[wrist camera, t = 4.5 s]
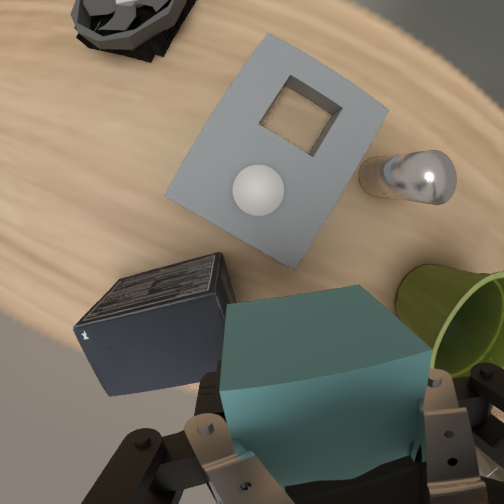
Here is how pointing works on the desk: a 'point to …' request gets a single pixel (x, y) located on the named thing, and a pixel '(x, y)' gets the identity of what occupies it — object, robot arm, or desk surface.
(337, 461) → the teal cube
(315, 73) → the peg board
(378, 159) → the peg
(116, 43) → the cpu cooler
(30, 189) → the desk surface
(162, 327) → the small box
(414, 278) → the plant pot
